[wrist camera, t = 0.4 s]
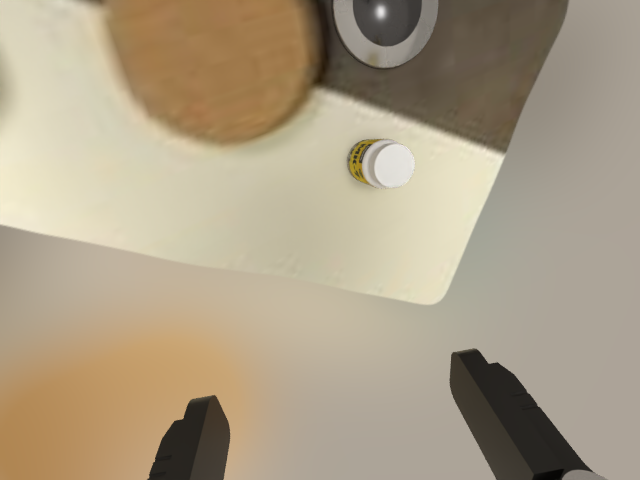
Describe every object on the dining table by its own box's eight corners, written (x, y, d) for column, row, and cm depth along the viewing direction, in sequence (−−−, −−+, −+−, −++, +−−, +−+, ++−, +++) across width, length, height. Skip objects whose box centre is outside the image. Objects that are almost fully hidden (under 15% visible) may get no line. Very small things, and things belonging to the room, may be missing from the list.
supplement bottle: (349, 137, 35) (374, 135, 27) (388, 141, 35) (424, 140, 28) (344, 180, 36) (367, 190, 28) (382, 183, 37) (414, 194, 29)
